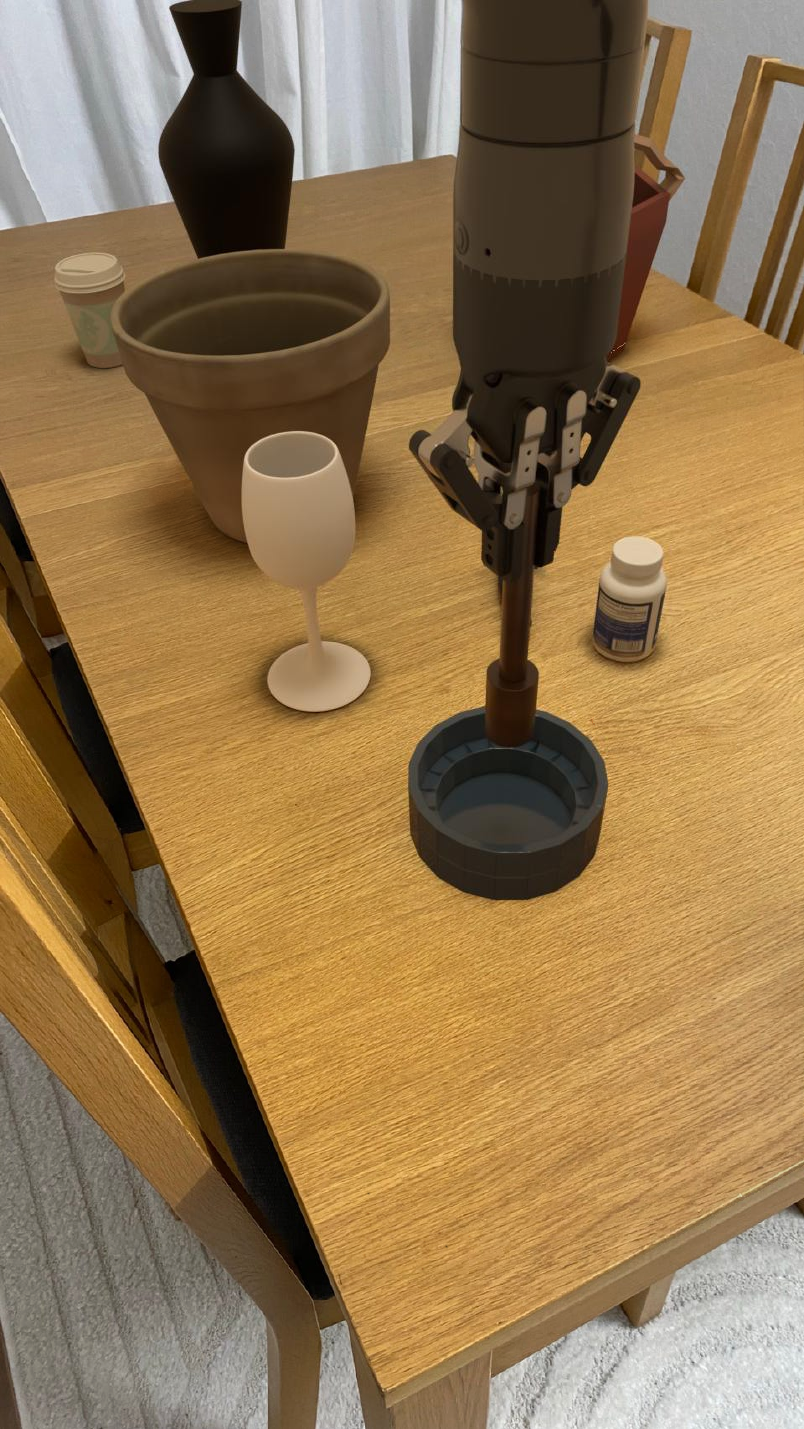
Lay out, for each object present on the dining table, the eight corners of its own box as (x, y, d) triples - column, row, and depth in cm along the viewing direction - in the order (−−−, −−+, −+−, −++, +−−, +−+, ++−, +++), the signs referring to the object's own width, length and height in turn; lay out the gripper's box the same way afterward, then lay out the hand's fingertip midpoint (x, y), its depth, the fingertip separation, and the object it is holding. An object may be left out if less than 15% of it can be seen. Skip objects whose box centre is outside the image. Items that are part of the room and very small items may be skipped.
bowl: (638, 844, 70) (649, 788, 66) (489, 942, 65) (492, 887, 61) (515, 736, 78) (519, 679, 74) (374, 815, 73) (369, 759, 69)
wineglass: (390, 666, 84) (378, 443, 70) (329, 727, 79) (301, 501, 65) (310, 631, 88) (282, 412, 73) (246, 687, 83) (202, 465, 68)
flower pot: (139, 474, 108) (88, 270, 93) (352, 427, 114) (337, 228, 99) (188, 604, 92) (135, 381, 76) (435, 541, 97) (432, 322, 82)
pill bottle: (619, 615, 88) (634, 522, 81) (668, 644, 85) (686, 550, 78) (578, 642, 86) (589, 549, 79) (626, 673, 83) (642, 578, 76)
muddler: (544, 733, 64) (567, 490, 51) (505, 755, 63) (519, 511, 50) (512, 706, 66) (527, 464, 53) (474, 726, 65) (480, 484, 52)
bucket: (675, 329, 130) (709, 111, 112) (619, 403, 116) (648, 168, 98) (502, 300, 138) (509, 94, 121) (431, 366, 125) (427, 144, 107)
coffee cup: (64, 358, 130) (37, 264, 121) (122, 338, 134) (99, 245, 125) (97, 379, 125) (71, 283, 117) (155, 358, 129) (134, 262, 121)
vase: (200, 284, 146) (149, -6, 122) (315, 281, 145) (288, -11, 121) (176, 334, 134) (114, 23, 110) (302, 331, 133) (268, 17, 109)
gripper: (467, 308, 38) (463, 651, 50) (715, 226, 44) (657, 553, 56) (359, 253, 43) (379, 580, 55) (596, 185, 48) (566, 496, 60)
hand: (519, 565), depth 55 cm, fingers closed on muddler
